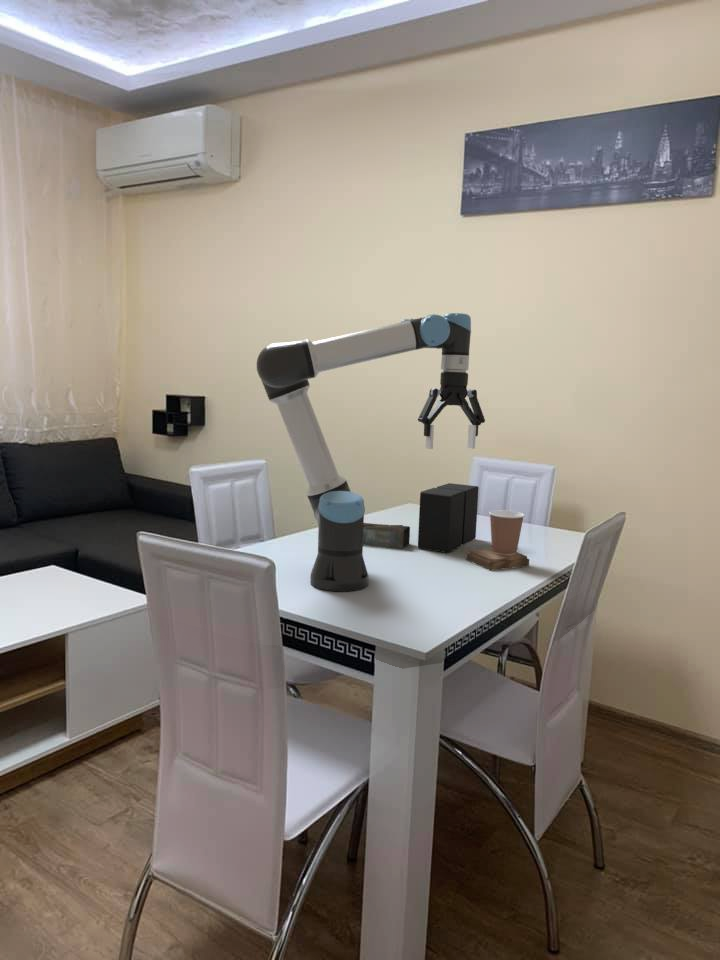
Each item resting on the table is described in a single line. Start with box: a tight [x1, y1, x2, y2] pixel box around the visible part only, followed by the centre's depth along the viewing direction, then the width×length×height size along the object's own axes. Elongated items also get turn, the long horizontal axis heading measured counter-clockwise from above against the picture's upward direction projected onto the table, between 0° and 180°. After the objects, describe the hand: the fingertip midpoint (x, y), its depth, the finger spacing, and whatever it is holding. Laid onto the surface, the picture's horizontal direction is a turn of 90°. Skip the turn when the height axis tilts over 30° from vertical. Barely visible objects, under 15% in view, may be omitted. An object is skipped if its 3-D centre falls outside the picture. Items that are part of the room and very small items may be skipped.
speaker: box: [417, 482, 480, 554], centre depth 229 cm, size 25×11×19 cm, turn 151°
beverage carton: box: [363, 522, 411, 549], centre depth 227 cm, size 8×19×7 cm, turn 72°
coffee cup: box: [489, 509, 525, 555], centre depth 208 cm, size 10×10×12 cm
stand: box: [465, 548, 530, 571], centre depth 208 cm, size 14×12×3 cm
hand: (450, 448), depth 194 cm, fingers open, 13 cm apart
